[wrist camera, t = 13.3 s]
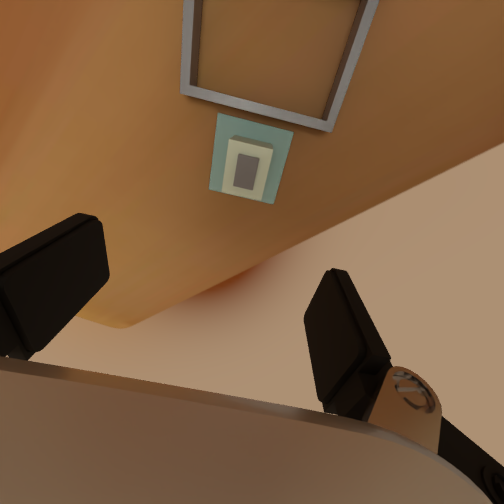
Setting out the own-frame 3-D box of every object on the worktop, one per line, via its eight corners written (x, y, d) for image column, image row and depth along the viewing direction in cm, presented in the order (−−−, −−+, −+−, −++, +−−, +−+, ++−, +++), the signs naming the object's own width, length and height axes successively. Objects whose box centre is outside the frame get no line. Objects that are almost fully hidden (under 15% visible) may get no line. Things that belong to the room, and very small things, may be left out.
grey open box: (384, -39, 22) (463, -139, 13) (325, 131, 29) (350, 137, 21) (198, -99, 20) (150, -254, 12) (187, 95, 28) (153, 86, 19)
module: (271, 143, 30) (273, 150, 24) (261, 187, 33) (260, 202, 28) (235, 134, 30) (228, 139, 24) (228, 180, 33) (220, 193, 27)
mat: (293, 132, 29) (293, 132, 29) (273, 203, 35) (273, 204, 34) (218, 112, 29) (217, 112, 28) (209, 188, 34) (208, 189, 34)
